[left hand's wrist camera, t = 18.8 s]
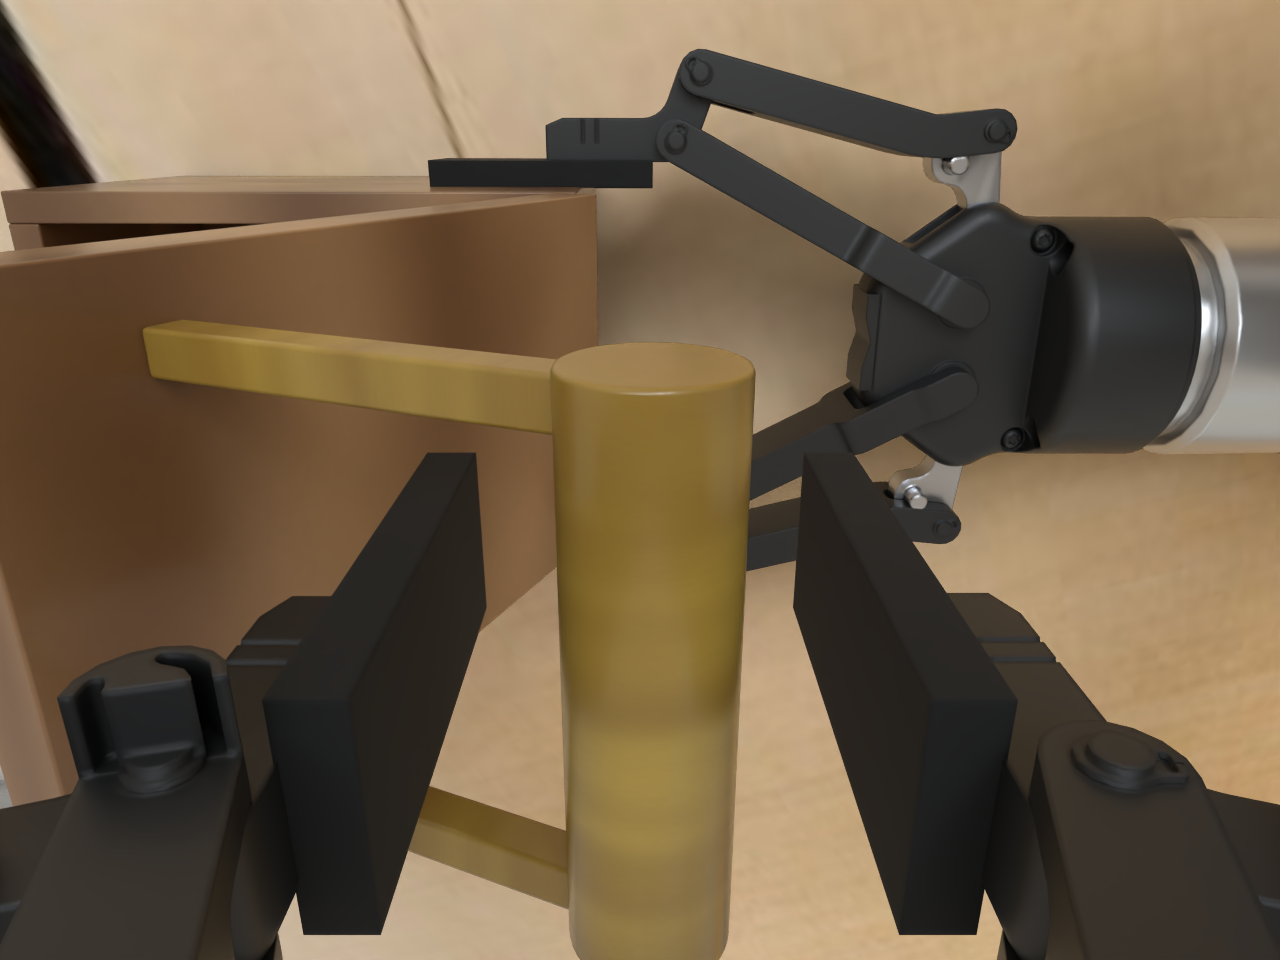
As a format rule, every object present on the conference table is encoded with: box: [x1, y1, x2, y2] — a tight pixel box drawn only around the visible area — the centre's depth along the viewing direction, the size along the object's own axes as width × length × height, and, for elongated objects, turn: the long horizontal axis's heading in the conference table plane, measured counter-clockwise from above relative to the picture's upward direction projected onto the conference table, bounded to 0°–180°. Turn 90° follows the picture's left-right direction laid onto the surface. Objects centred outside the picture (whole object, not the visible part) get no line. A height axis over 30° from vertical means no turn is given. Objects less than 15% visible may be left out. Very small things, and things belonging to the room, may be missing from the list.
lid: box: [0, 193, 756, 960], centre depth 17 cm, size 16×9×10 cm
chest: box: [1, 176, 594, 251], centre depth 30 cm, size 15×9×10 cm, turn 90°
